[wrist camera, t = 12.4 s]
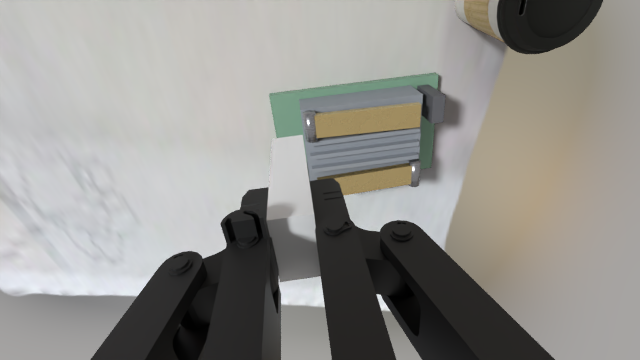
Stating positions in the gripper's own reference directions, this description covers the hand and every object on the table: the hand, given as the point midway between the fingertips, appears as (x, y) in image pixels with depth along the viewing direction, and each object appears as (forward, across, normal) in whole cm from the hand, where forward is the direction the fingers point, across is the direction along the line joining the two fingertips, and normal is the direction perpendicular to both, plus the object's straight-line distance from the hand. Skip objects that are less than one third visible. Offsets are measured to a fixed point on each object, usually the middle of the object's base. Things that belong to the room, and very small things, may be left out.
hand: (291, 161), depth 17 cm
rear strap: (+26, +9, -17) cm, 32 cm away
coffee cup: (+33, +26, +4) cm, 42 cm away
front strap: (+26, +9, -8) cm, 28 cm away
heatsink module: (+32, +9, -12) cm, 36 cm away
